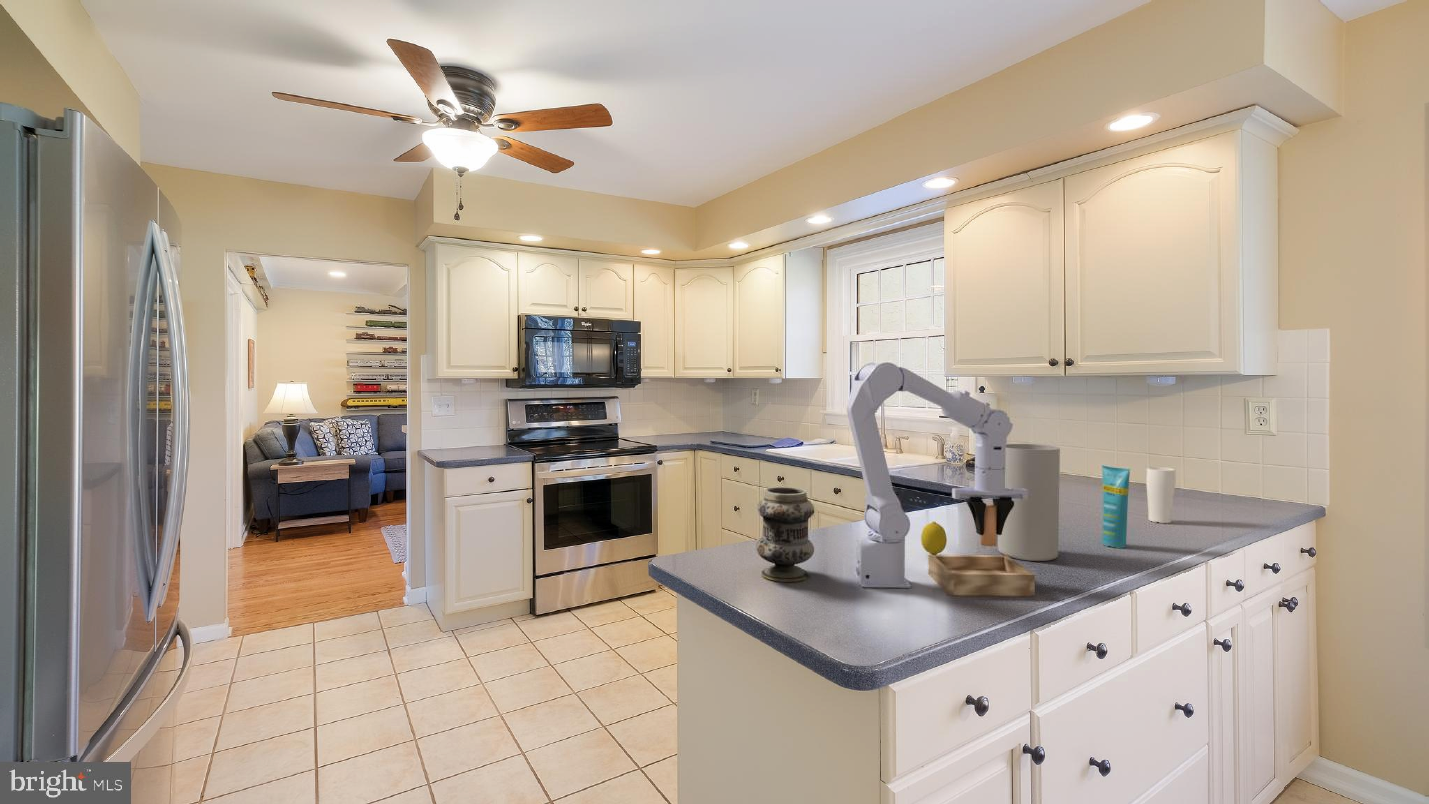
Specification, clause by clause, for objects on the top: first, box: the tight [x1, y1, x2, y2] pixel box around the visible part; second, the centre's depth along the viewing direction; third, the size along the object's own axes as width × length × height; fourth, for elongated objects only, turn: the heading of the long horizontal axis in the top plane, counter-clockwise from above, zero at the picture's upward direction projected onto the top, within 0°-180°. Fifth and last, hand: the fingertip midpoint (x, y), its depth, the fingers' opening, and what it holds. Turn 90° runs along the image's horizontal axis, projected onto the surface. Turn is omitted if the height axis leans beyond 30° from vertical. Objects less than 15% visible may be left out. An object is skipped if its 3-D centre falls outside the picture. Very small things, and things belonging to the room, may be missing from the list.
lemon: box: [920, 521, 948, 555], centre depth 148 cm, size 6×6×8 cm
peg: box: [980, 503, 998, 547], centre depth 132 cm, size 3×3×8 cm
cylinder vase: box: [997, 443, 1061, 562], centre depth 149 cm, size 12×12×25 cm
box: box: [928, 554, 1036, 597], centre depth 128 cm, size 16×13×4 cm
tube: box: [1101, 464, 1131, 549], centre depth 156 cm, size 7×5×19 cm, turn 23°
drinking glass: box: [1145, 466, 1177, 524], centre depth 181 cm, size 7×7×15 cm
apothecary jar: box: [755, 486, 815, 583], centre depth 135 cm, size 12×12×18 cm
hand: (988, 533), depth 132 cm, fingers closed on peg, 3 cm apart
